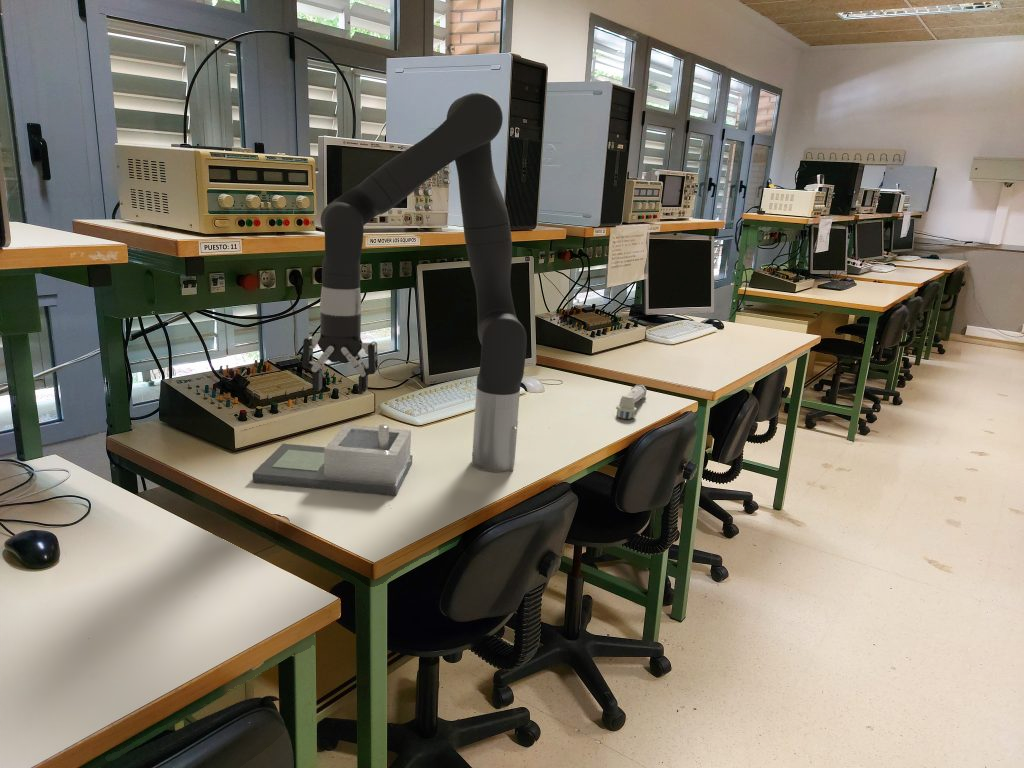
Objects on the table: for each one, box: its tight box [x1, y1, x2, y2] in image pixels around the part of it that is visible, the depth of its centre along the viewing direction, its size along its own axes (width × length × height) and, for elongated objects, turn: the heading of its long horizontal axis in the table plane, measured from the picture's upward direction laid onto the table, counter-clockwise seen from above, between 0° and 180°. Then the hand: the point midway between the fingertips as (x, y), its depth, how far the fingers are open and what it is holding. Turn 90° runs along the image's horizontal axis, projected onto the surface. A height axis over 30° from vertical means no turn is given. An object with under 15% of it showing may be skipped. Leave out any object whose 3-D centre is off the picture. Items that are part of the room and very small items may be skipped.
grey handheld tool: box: [615, 384, 648, 420], centre depth 201 cm, size 5×7×25 cm
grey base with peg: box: [252, 424, 413, 497], centre depth 144 cm, size 28×16×11 cm, turn 87°
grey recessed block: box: [324, 424, 412, 484], centre depth 144 cm, size 14×14×6 cm
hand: (340, 391), depth 140 cm, fingers open, 8 cm apart
